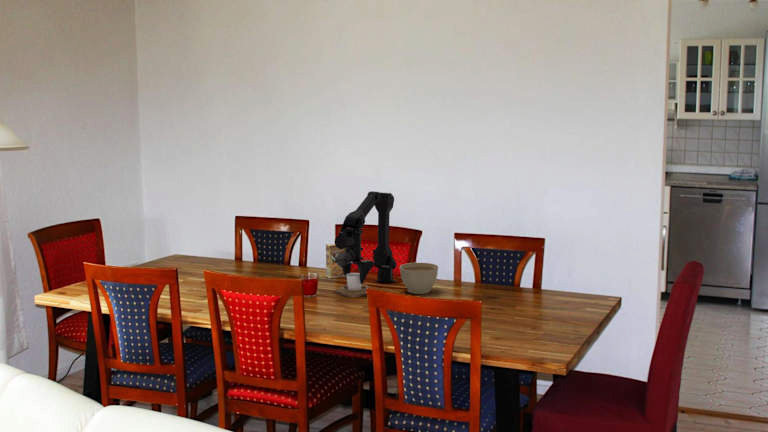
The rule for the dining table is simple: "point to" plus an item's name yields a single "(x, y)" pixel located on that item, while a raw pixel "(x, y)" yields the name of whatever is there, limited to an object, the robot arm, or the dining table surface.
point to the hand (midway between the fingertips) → (354, 282)
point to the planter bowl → (419, 277)
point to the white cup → (353, 281)
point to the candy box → (333, 261)
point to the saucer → (352, 291)
